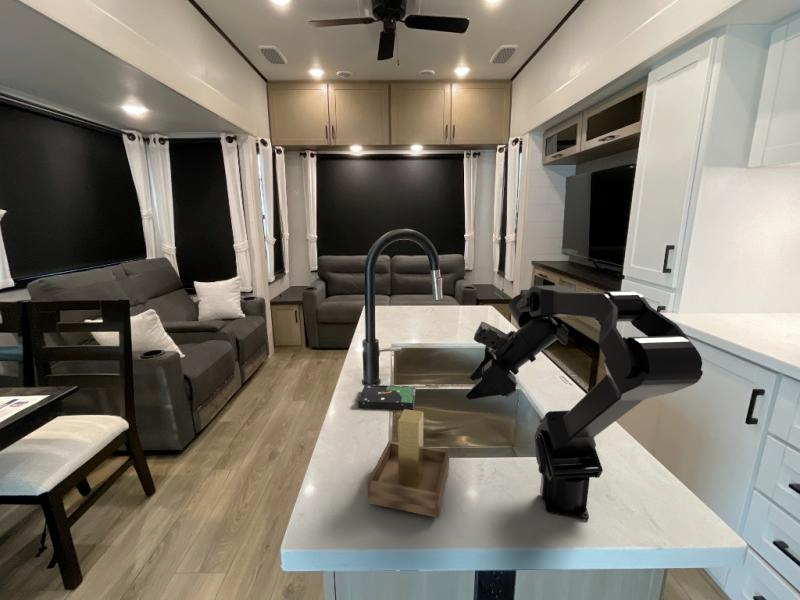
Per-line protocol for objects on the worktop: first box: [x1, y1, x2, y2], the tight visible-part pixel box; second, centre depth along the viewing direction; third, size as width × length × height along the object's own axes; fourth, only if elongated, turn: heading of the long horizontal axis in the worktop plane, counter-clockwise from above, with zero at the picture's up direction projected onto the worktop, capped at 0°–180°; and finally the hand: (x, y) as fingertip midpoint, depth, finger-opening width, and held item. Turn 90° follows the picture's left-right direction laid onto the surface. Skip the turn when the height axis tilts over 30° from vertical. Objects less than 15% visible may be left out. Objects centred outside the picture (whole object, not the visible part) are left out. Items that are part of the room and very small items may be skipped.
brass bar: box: [397, 409, 424, 487], centre depth 62 cm, size 4×4×12 cm
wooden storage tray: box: [366, 440, 450, 519], centre depth 64 cm, size 12×12×5 cm
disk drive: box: [357, 384, 416, 411], centre depth 98 cm, size 10×3×15 cm
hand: (469, 387), depth 74 cm, fingers open, 9 cm apart
